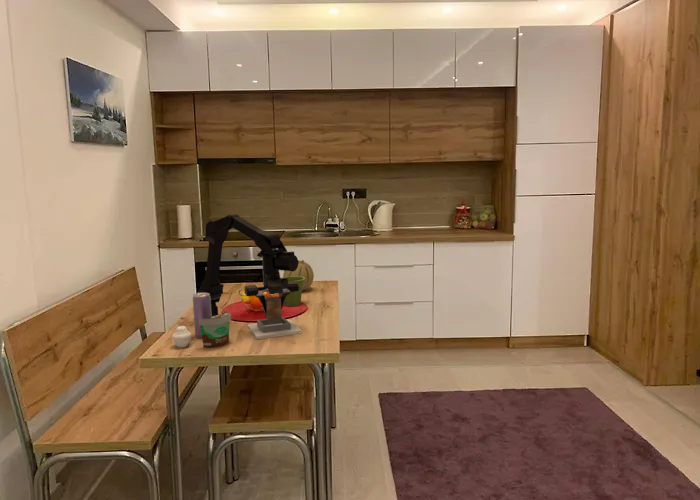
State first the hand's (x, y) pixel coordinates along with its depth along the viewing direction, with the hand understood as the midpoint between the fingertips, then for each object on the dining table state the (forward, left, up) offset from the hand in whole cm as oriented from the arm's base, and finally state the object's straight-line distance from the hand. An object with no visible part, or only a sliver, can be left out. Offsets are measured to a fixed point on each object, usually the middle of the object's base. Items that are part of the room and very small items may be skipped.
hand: (272, 311), depth 190 cm
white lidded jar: (-32, -4, -7) cm, 33 cm away
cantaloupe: (+26, +58, -7) cm, 64 cm away
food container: (-20, -8, -7) cm, 23 cm away
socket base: (0, 0, -7) cm, 7 cm away
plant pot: (+16, +34, -7) cm, 38 cm away
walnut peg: (0, 0, -2) cm, 2 cm away
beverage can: (-24, +4, -7) cm, 25 cm away
